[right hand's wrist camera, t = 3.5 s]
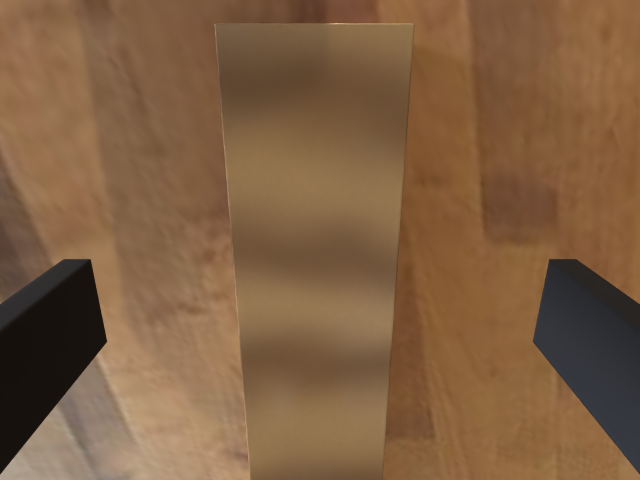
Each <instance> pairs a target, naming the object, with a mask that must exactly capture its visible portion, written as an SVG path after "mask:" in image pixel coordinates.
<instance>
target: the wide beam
mask: <svg viewBox="0 0 640 480" xmlns="http://www.w3.org/2000/svg"><path fill="white" fill-rule="evenodd" d="M214 27H215V39H216V52H217V65H218V77H219V90H220V103H221V115H222V128H223V141H224V154H225V166H226V179H227V192H228V204H229V217H230V230H231V242H232V255H233V268H234V280H235V293H236V306H237V318H238V331H239V344H240V356H241V369H242V382H243V395H244V407H245V420H246V433H247V445H248V458H249V471H250V480H382V478H383V464H384V449H385V435H386V421H387V407H388V393H389V379H390V364H391V350H392V336H393V322H394V308H395V294H396V279H397V265H398V251H399V237H400V223H401V209H402V194H403V180H404V166H405V152H406V138H407V124H408V109H409V95H410V81H411V67H412V53H413V39H414V24H413V23H215V24H214Z"/></svg>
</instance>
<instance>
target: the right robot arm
mask: <svg viewBox="0 0 640 480" xmlns="http://www.w3.org/2000/svg"><path fill="white" fill-rule="evenodd" d="M106 342H107V339H106V334H105V329H104V324H103V319H102V314H101V309H100V304H99V299H98V294H97V289H96V284H95V279H94V274H93V269H92V264H91V259H64V260H62V261H61V262H59V263H58V264H57V265H55V266H54V267H52V268H51V269H49V270H48V271H47V272H45V273H44V274H42V275H41V276H40V277H38V278H37V279H35V280H34V281H33V282H31V283H30V284H28V285H27V286H26V287H24V288H23V289H21V290H20V291H18V292H17V293H16V294H14V295H13V296H11V297H10V298H9V299H7V300H6V301H4V302H3V303H2V304H0V474H1V473H2V472H3V470H4V469H5V468H6V467H7V465H8V464H9V463H10V462H11V460H12V459H13V458H14V457H15V455H16V454H17V453H18V452H19V450H20V449H21V448H22V447H23V445H24V444H25V443H26V442H27V441H28V439H29V438H30V437H31V436H32V434H33V433H34V432H35V431H36V429H37V428H38V427H39V426H40V424H41V423H42V422H43V421H44V419H45V418H46V417H47V416H48V414H49V413H50V412H51V411H52V409H53V408H54V407H55V406H56V405H57V403H58V402H59V401H60V400H61V398H62V397H63V396H64V395H65V393H66V392H67V391H68V390H69V388H70V387H71V386H72V385H73V383H74V382H75V381H76V380H77V378H78V377H79V376H80V375H81V373H82V372H83V371H84V370H85V369H86V367H87V366H88V365H89V364H90V362H91V361H92V360H93V359H94V357H95V356H96V355H97V354H98V352H99V351H100V350H101V349H102V347H103V346H104V345H105V344H106ZM533 342H534V344H535V345H536V346H537V347H538V349H539V350H540V351H541V352H542V354H543V355H544V356H545V357H546V359H547V360H548V361H549V362H550V364H551V365H552V366H553V367H554V369H555V370H556V371H557V372H558V373H559V375H560V376H561V377H562V378H563V380H564V381H565V382H566V383H567V385H568V386H569V387H570V388H571V390H572V391H573V392H574V393H575V395H576V396H577V397H578V398H579V400H580V401H581V402H582V403H583V405H584V406H585V407H586V408H587V409H588V411H589V412H590V413H591V414H592V416H593V417H594V418H595V419H596V421H597V422H598V423H599V424H600V426H601V427H602V428H603V429H604V431H605V432H606V433H607V434H608V436H609V437H610V438H611V439H612V441H613V442H614V443H615V444H616V445H617V447H618V448H619V449H620V450H621V452H622V453H623V454H624V455H625V457H626V458H627V459H628V460H629V462H630V463H631V464H632V465H633V467H634V468H635V469H636V470H637V472H638V473H639V474H640V304H638V303H637V302H636V301H634V300H633V299H631V298H630V297H629V296H627V295H626V294H624V293H623V292H622V291H620V290H619V289H617V288H616V287H614V286H613V285H612V284H610V283H609V282H607V281H606V280H605V279H603V278H602V277H600V276H599V275H598V274H596V273H595V272H593V271H592V270H591V269H589V268H588V267H586V266H585V265H583V264H582V263H581V262H579V261H578V260H576V259H549V264H548V269H547V274H546V279H545V284H544V289H543V294H542V299H541V304H540V309H539V314H538V319H537V324H536V329H535V334H534V339H533Z"/></svg>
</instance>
